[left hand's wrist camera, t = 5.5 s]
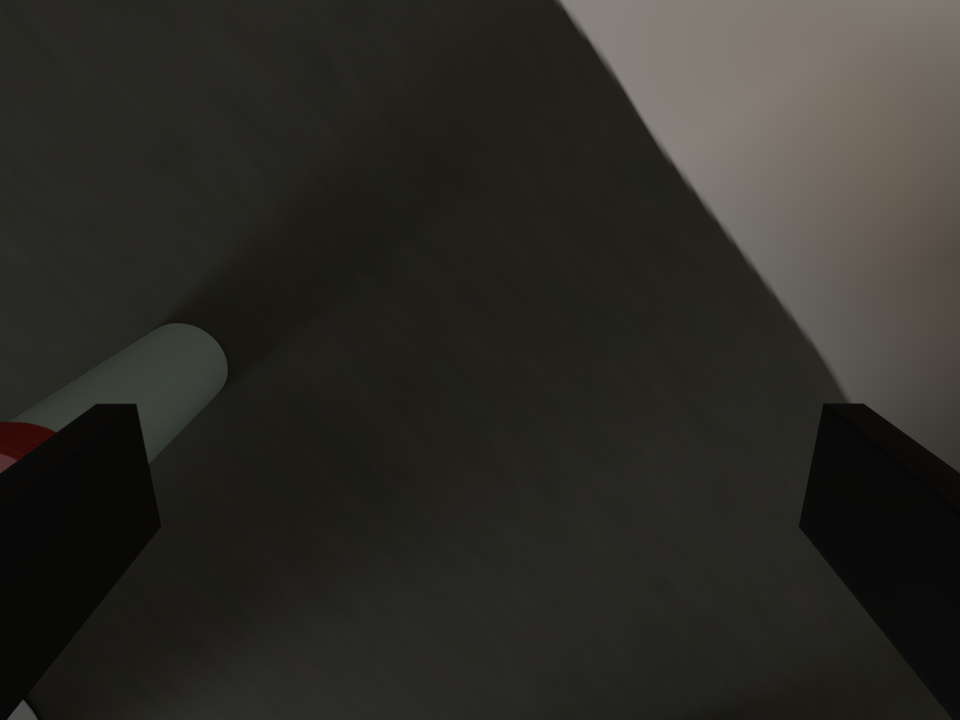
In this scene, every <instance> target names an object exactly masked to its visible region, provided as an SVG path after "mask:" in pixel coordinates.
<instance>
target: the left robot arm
mask: <svg viewBox="0 0 960 720" xmlns="http://www.w3.org/2000/svg"><path fill="white" fill-rule="evenodd" d="M160 527H161V523H160V518H159V513H158V508H157V503H156V498H155V493H154V488H153V483H152V478H151V473H150V468H149V464H148V459H147V454H146V449H145V444H144V439H143V434H142V429H141V424H140V419H139V414H138V409H137V404H95V405H94V406H92V407H91V408H90V409H88V410H87V411H86V412H84V413H83V414H81V415H80V416H79V417H77V418H76V419H75V420H73V421H72V422H70V423H69V424H68V425H66V426H65V427H63V428H62V429H61V430H59V431H58V432H57V433H55V434H54V435H52V436H51V437H50V438H48V439H47V440H45V441H44V442H43V443H41V444H40V445H39V446H37V447H36V448H34V449H33V450H32V451H30V452H29V453H28V454H26V455H25V456H23V457H22V458H21V459H19V460H18V461H16V462H15V463H14V464H12V465H11V466H10V467H8V468H7V469H5V470H4V471H3V472H1V473H0V720H7V719H8V718H9V717H10V715H11V714H12V713H13V712H14V710H15V709H16V708H17V707H18V705H19V704H20V703H21V702H22V700H23V699H24V698H25V697H26V695H27V694H28V693H29V692H30V690H31V689H32V688H33V687H34V685H35V684H36V683H37V682H38V680H39V679H40V678H41V677H42V675H43V674H44V673H45V672H46V670H47V669H48V668H49V666H50V665H51V664H52V663H53V661H54V660H55V659H56V658H57V656H58V655H59V654H60V653H61V651H62V650H63V649H64V648H65V646H66V645H67V644H68V643H69V641H70V640H71V639H72V638H73V636H74V635H75V634H76V633H77V631H78V630H79V629H80V628H81V626H82V625H83V624H84V623H85V621H86V620H87V619H88V618H89V616H90V615H91V614H92V612H93V611H94V610H95V609H96V607H97V606H98V605H99V604H100V602H101V601H102V600H103V599H104V597H105V596H106V595H107V594H108V592H109V591H110V590H111V589H112V587H113V586H114V585H115V584H116V582H117V581H118V580H119V579H120V577H121V576H122V575H123V574H124V572H125V571H126V570H127V569H128V567H129V566H130V565H131V564H132V562H133V561H134V560H135V559H136V557H137V556H138V555H139V553H140V552H141V551H142V550H143V548H144V547H145V546H146V545H147V543H148V542H149V541H150V540H151V538H152V537H153V536H154V535H155V533H156V532H157V531H158V530H159V528H160ZM799 527H800V528H801V530H802V531H803V532H804V533H805V535H806V536H807V537H808V538H809V540H810V541H811V542H812V543H813V545H814V546H815V547H816V548H817V550H818V551H819V552H820V553H821V555H822V556H823V557H824V559H825V560H826V561H827V562H828V564H829V565H830V566H831V567H832V569H833V570H834V571H835V572H836V574H837V575H838V576H839V577H840V579H841V580H842V581H843V582H844V584H845V585H846V586H847V587H848V589H849V590H850V591H851V592H852V594H853V595H854V596H855V597H856V599H857V600H858V601H859V602H860V604H861V605H862V606H863V607H864V609H865V610H866V611H867V612H868V614H869V615H870V616H871V618H872V619H873V620H874V621H875V623H876V624H877V625H878V626H879V628H880V629H881V630H882V631H883V633H884V634H885V635H886V636H887V638H888V639H889V640H890V641H891V643H892V644H893V645H894V646H895V648H896V649H897V650H898V651H899V653H900V654H901V655H902V656H903V658H904V659H905V660H906V661H907V663H908V664H909V665H910V666H911V668H912V669H913V670H914V672H915V673H916V674H917V675H918V677H919V678H920V679H921V680H922V682H923V683H924V684H925V685H926V687H927V688H928V689H929V690H930V692H931V693H932V694H933V695H934V697H935V698H936V699H937V700H938V702H939V703H940V704H941V705H942V707H943V708H944V709H945V710H946V712H947V713H948V714H949V715H950V717H951V718H952V719H953V720H960V473H959V472H957V471H956V470H955V469H953V468H952V467H950V466H949V465H948V464H946V463H945V462H944V461H942V460H941V459H939V458H938V457H937V456H935V455H934V454H932V453H931V452H930V451H928V450H927V449H926V448H924V447H923V446H921V445H920V444H919V443H917V442H916V441H915V440H913V439H912V438H910V437H909V436H908V435H906V434H905V433H903V432H902V431H901V430H899V429H898V428H897V427H895V426H894V425H892V424H891V423H890V422H888V421H887V420H885V419H884V418H883V417H881V416H880V415H879V414H877V413H876V412H874V411H873V410H872V409H870V408H869V407H868V406H866V405H865V404H823V409H822V414H821V419H820V424H819V429H818V434H817V439H816V444H815V449H814V454H813V459H812V463H811V468H810V473H809V478H808V483H807V488H806V493H805V498H804V503H803V508H802V513H801V518H800V523H799Z"/></svg>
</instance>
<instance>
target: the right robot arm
mask: <svg viewBox="0 0 960 720" xmlns="http://www.w3.org/2000/svg"><path fill="white" fill-rule="evenodd" d="M7 720H38V719H37V717H36V716H35V714H34V712H33V711H32V709H31V708H30V707H29V705H28V704H27V703H26V702H25V701H24V700H22V702H21V703H20V704H19V705H18V707H17V708H16V709H15V710H14V712H13V713H12V714H11V715H10V717H9V718H8V719H7Z"/></svg>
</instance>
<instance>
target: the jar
mask: <svg viewBox="0 0 960 720" xmlns="http://www.w3.org/2000/svg"><path fill="white" fill-rule="evenodd" d="M227 373H228V366H227V360H226V357H225V354H224V352H223V350H222V348H221V347H220V345H219V344H218V343H217V341H216V340H215V339H214V338H213V337H212V336H210V335H209V334H208V333H207V332H205V331H204V330H202V329H200V328H198V327H195V326H192V325H188V324H183V323H172V324H167V325H163V326H161V327H159V328H157V329H155V330H154V331H152V332H151V333H149V334H147V335H146V336H144V337H143V338H141V339H139V340H138V341H136V342H135V343H133V344H131V345H130V346H128V347H127V348H125V349H123V350H122V351H120V352H119V353H117V354H115V355H114V356H112V357H111V358H109V359H107V360H106V361H104V362H103V363H101V364H99V365H98V366H96V367H95V368H93V369H91V370H90V371H88V372H87V373H85V374H84V375H82V376H80V377H79V378H77V379H76V380H74V381H72V382H71V383H69V384H68V385H66V386H64V387H63V388H61V389H60V390H58V391H56V392H55V393H53V394H52V395H50V396H48V397H47V398H45V399H44V400H42V401H40V402H39V403H37V404H36V405H34V406H32V407H31V408H29V409H28V410H26V411H24V412H23V413H21V414H20V415H18V416H16V417H15V418H13V419H12V420H10V421H9V422H23V423H31V424H35V425H39V426H42V427H45V428H48V429H51V430H53V431H55V432H58V431H59V430H61V429H62V428H63V427H65V426H66V425H68V424H69V423H70V422H72V421H73V420H75V419H76V418H77V417H79V416H80V415H81V414H83V413H84V412H86V411H87V410H88V409H90V408H91V407H92V406H94V405H95V404H137V409H138V414H139V419H140V424H141V429H142V434H143V439H144V444H145V449H146V454H147V459H148V464H149V463H150V462H151V461H152V460H153V459H154V458H155V457H156V456H157V455H158V454H159V453H160V452H161V451H162V450H163V449H164V448H165V447H166V446H167V445H168V444H169V443H170V442H171V441H172V440H173V439H174V438H175V437H176V436H177V435H178V434H179V433H180V432H181V431H182V430H183V429H184V428H185V427H186V426H187V425H188V424H189V422H190V421H191V420H192V419H193V418H194V417H195V416H196V415H197V414H198V413H199V412H200V411H201V410H202V409H203V408H204V407H205V406H206V405H207V404H208V403H209V402H210V401H211V400H212V399H213V398H214V397H215V396H216V395H217V394H218V393H219V392H220V391H221V389H222V388H223V386H224V384H225V382H226V379H227Z"/></svg>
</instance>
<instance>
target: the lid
mask: <svg viewBox="0 0 960 720" xmlns="http://www.w3.org/2000/svg"><path fill="white" fill-rule="evenodd" d="M55 433H57V432H55V431H53V430H51V429H48V428H45V427H42V426H39V425H35V424H31V423H23V422H5V423H4V422H0V473H1V472H3V471H4V470H5V469H7V468H8V467H10V466H11V465H12V464H14V463H15V462H16V461H18V460H19V459H21V458H22V457H23V456H25V455H26V454H28V453H29V452H30V451H32V450H33V449H34V448H36V447H37V446H39V445H40V444H41V443H43V442H44V441H45V440H47V439H48V438H50V437H51V436H52V435H54V434H55Z"/></svg>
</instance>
